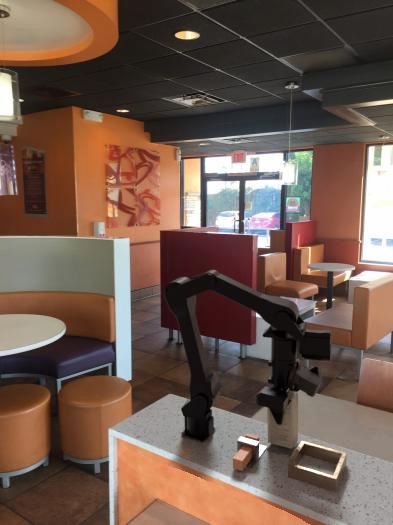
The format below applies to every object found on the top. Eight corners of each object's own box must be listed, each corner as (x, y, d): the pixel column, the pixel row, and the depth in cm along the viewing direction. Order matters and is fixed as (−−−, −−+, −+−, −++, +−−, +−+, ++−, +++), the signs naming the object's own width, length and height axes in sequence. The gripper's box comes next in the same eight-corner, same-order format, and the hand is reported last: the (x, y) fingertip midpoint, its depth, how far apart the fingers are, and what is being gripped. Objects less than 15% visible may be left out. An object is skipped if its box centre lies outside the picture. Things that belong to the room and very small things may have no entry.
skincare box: (298, 440, 105) (299, 392, 102) (292, 450, 101) (293, 399, 99) (272, 433, 108) (273, 386, 106) (265, 442, 104) (266, 393, 102)
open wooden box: (287, 477, 94) (287, 464, 93) (301, 452, 102) (301, 440, 102) (335, 492, 89) (336, 479, 88) (346, 465, 97) (346, 452, 97)
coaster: (267, 450, 104) (267, 448, 103) (275, 438, 108) (275, 436, 108) (290, 456, 101) (290, 455, 101) (297, 444, 106) (297, 442, 105)
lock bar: (231, 467, 97) (231, 452, 96) (247, 447, 104) (247, 432, 103) (243, 471, 95) (243, 456, 94) (259, 450, 102) (259, 436, 102)
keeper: (232, 462, 99) (232, 445, 99) (248, 442, 107) (249, 426, 106) (252, 468, 97) (252, 451, 96) (267, 447, 105) (267, 431, 104)
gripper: (307, 379, 89) (305, 450, 91) (329, 348, 105) (327, 410, 107) (255, 368, 94) (254, 435, 97) (284, 341, 110) (283, 399, 113)
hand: (282, 419), depth 103 cm, fingers closed on skincare box, 4 cm apart
